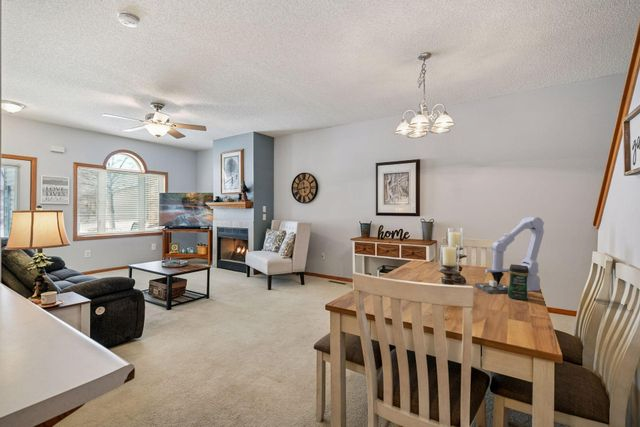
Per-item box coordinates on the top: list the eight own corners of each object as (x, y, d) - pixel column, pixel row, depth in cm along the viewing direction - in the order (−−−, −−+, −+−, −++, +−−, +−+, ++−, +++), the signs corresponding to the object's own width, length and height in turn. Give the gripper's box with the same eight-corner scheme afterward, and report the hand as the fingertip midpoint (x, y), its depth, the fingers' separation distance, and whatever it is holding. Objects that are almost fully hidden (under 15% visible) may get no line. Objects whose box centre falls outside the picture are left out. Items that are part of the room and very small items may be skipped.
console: (499, 285, 211) (499, 280, 211) (513, 292, 197) (514, 287, 197) (474, 286, 210) (475, 281, 209) (488, 293, 196) (488, 287, 195)
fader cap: (492, 284, 205) (493, 279, 205) (496, 286, 201) (497, 281, 201) (489, 284, 205) (489, 279, 205) (493, 286, 201) (493, 281, 201)
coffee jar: (507, 298, 187) (508, 265, 186) (507, 294, 194) (509, 262, 193) (527, 301, 182) (529, 267, 181) (527, 297, 189) (529, 264, 188)
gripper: (504, 260, 207) (503, 282, 208) (482, 260, 206) (481, 282, 207) (512, 262, 200) (511, 285, 201) (489, 263, 199) (488, 285, 200)
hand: (496, 284), depth 203 cm, fingers closed
